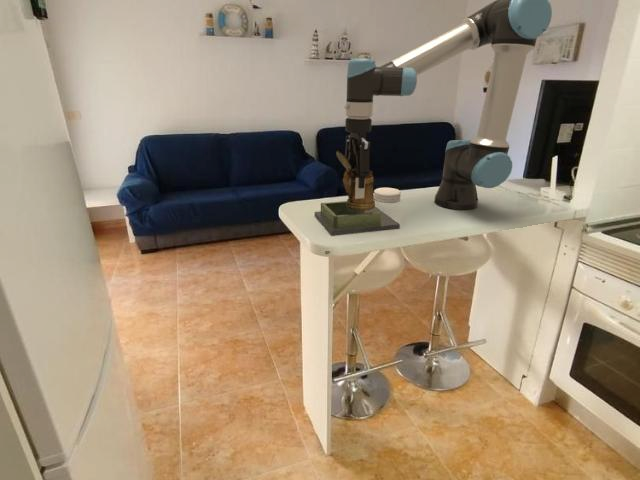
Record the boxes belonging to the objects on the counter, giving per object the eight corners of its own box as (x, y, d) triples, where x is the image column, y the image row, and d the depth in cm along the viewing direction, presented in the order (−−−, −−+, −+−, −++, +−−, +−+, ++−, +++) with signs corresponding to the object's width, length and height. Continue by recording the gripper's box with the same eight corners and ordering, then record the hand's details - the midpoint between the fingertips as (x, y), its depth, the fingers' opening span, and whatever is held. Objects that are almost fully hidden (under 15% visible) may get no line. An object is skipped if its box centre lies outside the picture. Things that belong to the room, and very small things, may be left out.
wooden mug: (328, 205, 125) (330, 147, 118) (366, 200, 130) (369, 145, 123) (341, 213, 117) (343, 153, 110) (380, 208, 122) (384, 150, 115)
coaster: (390, 194, 156) (391, 186, 155) (405, 201, 148) (406, 192, 146) (368, 197, 152) (369, 188, 151) (382, 204, 144) (383, 195, 142)
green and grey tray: (375, 210, 137) (376, 196, 135) (399, 228, 121) (401, 213, 119) (314, 216, 131) (314, 201, 129) (331, 235, 115) (331, 219, 113)
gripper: (335, 114, 121) (333, 187, 130) (359, 121, 103) (355, 205, 112) (358, 114, 123) (354, 185, 132) (385, 121, 105) (379, 203, 114)
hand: (354, 194), depth 122 cm, fingers closed on wooden mug, 7 cm apart
